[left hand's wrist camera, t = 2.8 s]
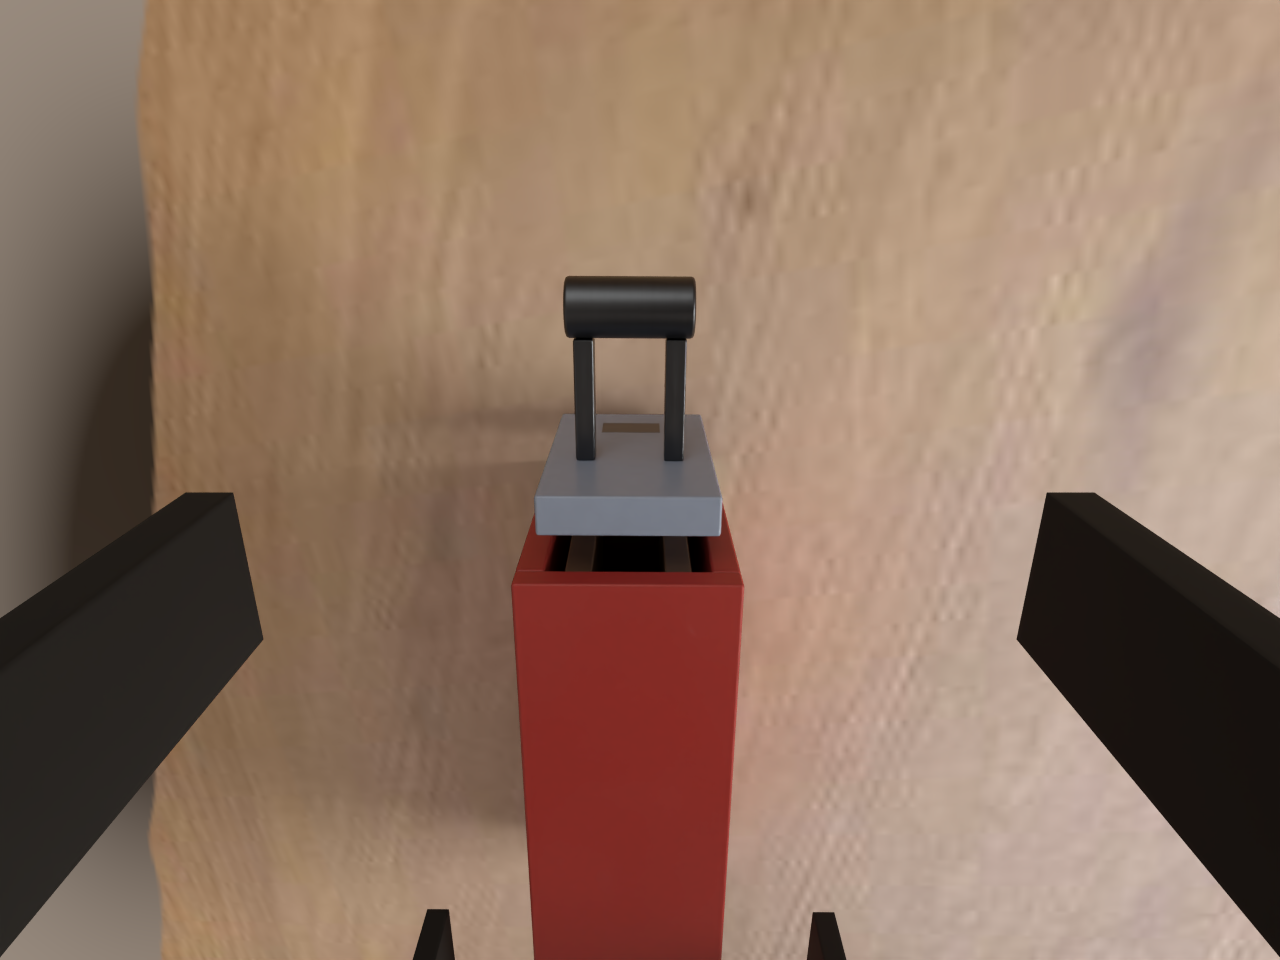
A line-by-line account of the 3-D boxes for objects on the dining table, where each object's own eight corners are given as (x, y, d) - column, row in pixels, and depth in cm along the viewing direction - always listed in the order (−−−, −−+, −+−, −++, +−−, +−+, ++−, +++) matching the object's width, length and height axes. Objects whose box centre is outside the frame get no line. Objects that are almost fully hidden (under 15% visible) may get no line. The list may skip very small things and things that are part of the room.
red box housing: (550, 460, 30) (510, 583, 21) (713, 461, 30) (745, 585, 21) (564, 832, 37) (538, 1050, 28) (697, 833, 37) (715, 1051, 28)
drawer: (557, 259, 26) (523, 290, 19) (706, 260, 26) (732, 291, 19) (574, 792, 35) (555, 960, 27) (687, 792, 35) (700, 962, 27)
